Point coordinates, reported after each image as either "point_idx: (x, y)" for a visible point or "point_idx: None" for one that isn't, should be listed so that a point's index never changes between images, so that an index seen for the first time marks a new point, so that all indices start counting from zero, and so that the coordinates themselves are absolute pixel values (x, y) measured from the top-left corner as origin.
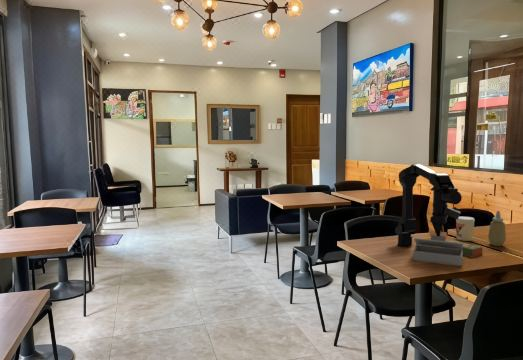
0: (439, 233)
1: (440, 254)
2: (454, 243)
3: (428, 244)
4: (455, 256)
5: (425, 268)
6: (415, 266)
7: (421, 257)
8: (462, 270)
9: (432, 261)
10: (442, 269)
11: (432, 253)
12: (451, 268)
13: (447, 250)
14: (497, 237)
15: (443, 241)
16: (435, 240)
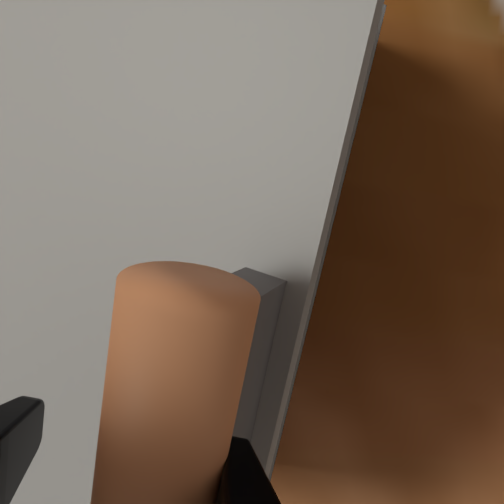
0: (270, 501)
1: (316, 280)
2: (333, 105)
3: None
4: (361, 101)
5: (482, 390)
6: (437, 458)
7: None
8: (499, 57)
9: None
10: (492, 253)
11: (296, 364)
12: (446, 162)
13: None
14: None
15: (303, 316)
16: (273, 444)
